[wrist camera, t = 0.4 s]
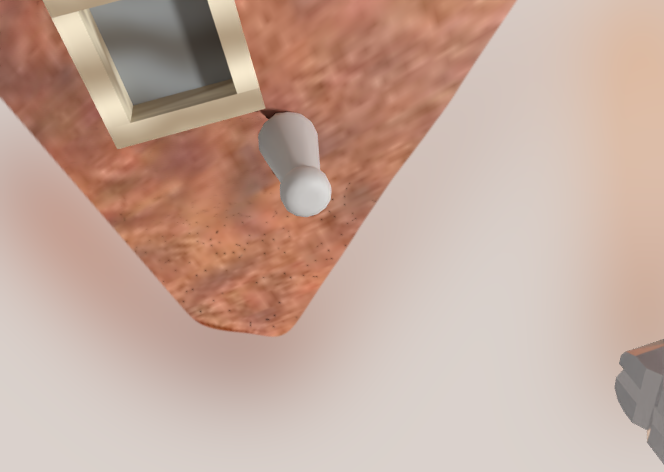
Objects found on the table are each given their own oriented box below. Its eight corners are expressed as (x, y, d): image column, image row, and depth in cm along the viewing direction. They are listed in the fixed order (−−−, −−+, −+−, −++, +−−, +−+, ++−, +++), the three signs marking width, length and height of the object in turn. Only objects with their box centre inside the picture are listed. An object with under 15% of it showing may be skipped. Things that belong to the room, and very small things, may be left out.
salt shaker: (263, 161, 57) (281, 236, 47) (248, 111, 53) (264, 180, 43) (317, 147, 57) (347, 218, 47) (307, 96, 54) (336, 161, 44)
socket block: (48, -23, 43) (37, -10, 40) (215, -65, 44) (217, -56, 41) (121, 129, 52) (117, 149, 48) (260, 91, 52) (265, 108, 49)
